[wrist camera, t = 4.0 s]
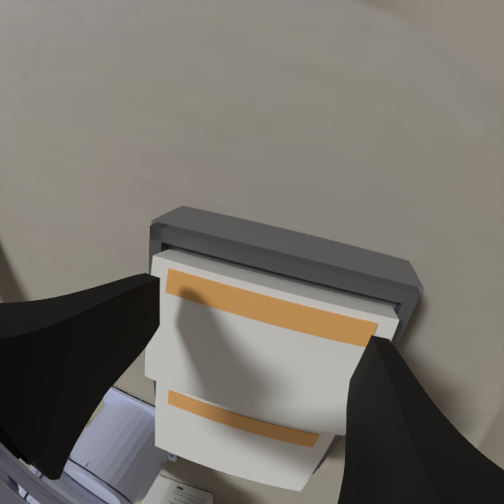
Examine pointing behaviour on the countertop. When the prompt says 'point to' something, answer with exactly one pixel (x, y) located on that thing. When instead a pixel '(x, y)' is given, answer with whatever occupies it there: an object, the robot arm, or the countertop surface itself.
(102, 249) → the countertop surface
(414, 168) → the countertop surface
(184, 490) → the container
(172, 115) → the countertop surface
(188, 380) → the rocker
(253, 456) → the panel
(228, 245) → the grey divided tray
